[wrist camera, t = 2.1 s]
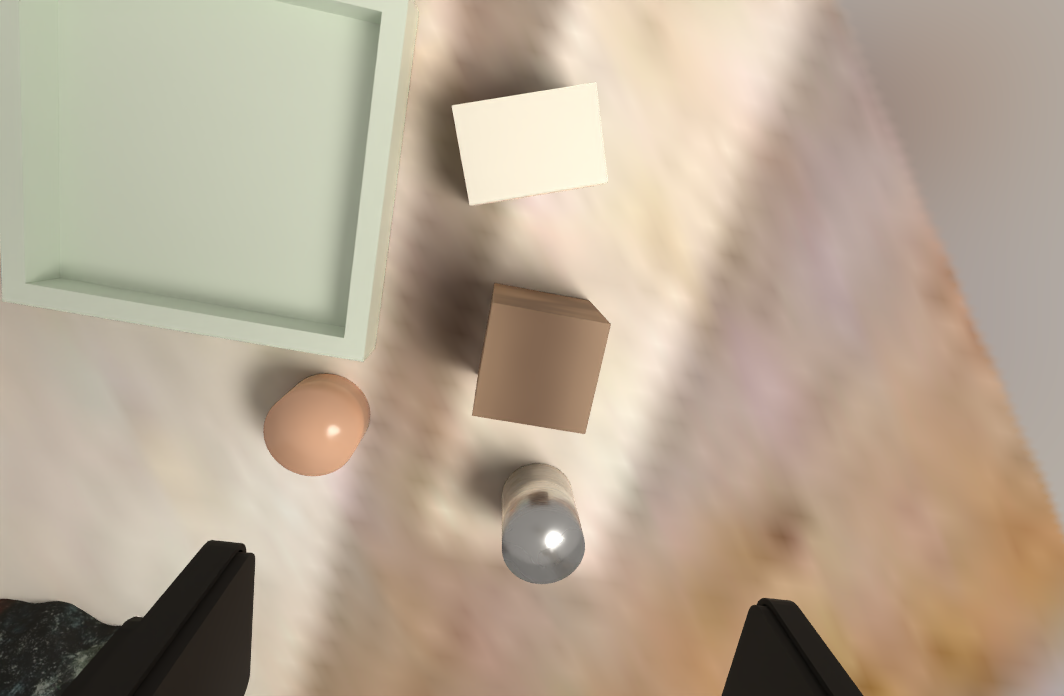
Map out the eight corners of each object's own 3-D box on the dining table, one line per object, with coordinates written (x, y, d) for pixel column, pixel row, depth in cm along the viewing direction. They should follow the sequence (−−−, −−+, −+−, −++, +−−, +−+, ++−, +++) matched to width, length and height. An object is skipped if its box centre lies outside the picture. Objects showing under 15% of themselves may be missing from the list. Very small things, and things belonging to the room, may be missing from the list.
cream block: (582, 100, 27) (596, 81, 23) (593, 186, 28) (608, 182, 24) (459, 120, 26) (451, 105, 23) (474, 205, 27) (469, 205, 24)
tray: (418, 12, 25) (409, -10, 23) (375, 348, 29) (363, 361, 26) (43, -75, 24) (-12, -109, 21) (48, 292, 27) (1, 301, 25)
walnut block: (589, 300, 29) (610, 324, 23) (569, 389, 30) (585, 433, 24) (494, 282, 28) (492, 302, 23) (478, 374, 30) (472, 415, 24)
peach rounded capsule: (375, 380, 29) (361, 399, 26) (365, 456, 30) (351, 482, 28) (290, 366, 29) (267, 384, 26) (283, 443, 30) (260, 468, 27)
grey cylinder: (578, 469, 31) (592, 517, 26) (564, 531, 32) (575, 588, 27) (509, 458, 31) (510, 505, 26) (496, 521, 32) (495, 578, 27)
